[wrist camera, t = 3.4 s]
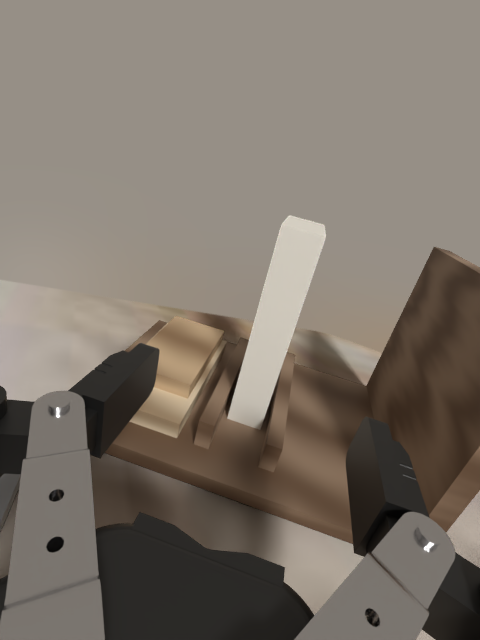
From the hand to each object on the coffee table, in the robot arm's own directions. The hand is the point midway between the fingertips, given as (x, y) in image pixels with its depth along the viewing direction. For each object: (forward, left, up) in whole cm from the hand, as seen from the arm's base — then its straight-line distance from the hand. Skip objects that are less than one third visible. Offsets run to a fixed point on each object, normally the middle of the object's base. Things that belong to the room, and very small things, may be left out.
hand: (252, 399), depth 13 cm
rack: (-10, +5, -10) cm, 15 cm away
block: (-10, +5, -9) cm, 14 cm away
